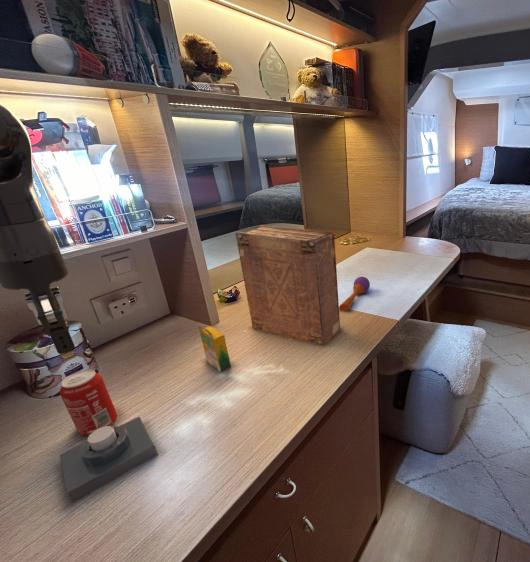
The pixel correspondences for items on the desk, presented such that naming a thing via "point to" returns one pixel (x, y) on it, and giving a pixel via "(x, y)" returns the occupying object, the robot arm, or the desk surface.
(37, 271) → the robot arm
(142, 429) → the button base
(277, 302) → the brown wooden chest
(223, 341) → the crayon box
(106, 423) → the beverage can
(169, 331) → the desk surface
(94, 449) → the white button cap
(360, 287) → the purple and orange maraca
